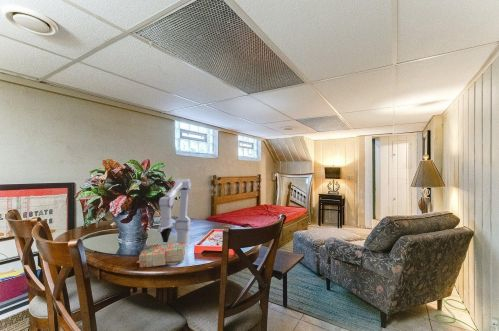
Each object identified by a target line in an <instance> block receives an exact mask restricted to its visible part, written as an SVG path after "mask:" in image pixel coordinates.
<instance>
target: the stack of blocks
mask: <svg viewBox="0 0 499 331" xmlns="http://www.w3.org/2000/svg"><path fill="white" fill-rule="evenodd" d="M185 256H186V246H185V243H177V242H176V243H165V244H151V245H150V244H149V245H145V246H144V247H143V248H142V250H141V251H140V254H139V255H138V258H139V259H138V261H139V263H138V264H139V268H151V267H158V266H165V265H167V264H166V262H170V261H180V260H181V261H184V260H185ZM181 261H180V262H181Z"/></svg>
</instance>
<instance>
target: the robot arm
mask: <svg viewBox="0 0 499 331" xmlns="http://www.w3.org/2000/svg"><path fill="white" fill-rule="evenodd" d="M173 184H174V185H173V187H172V188H171V189H169V190H167V192H166V193H165V195H164V196H162V197H159V200H158V207H159V210H160V221H159V222H160V225H158V228H157V233H159V234H160V235H161V237H162V242H163V243H168V242H169V238H170V235H171V233H172V230H173V227H174V230H175V232H176V243H185V247H187V246H188V245H189V244H191V243H192V241H191V232H190V230H191V228H192V222H191V221H192V220H191V218H190V217H189V216H188V208H189V207H188V205H189V204H188V203H189V193H190V192H191V189H192V180H191V179H190V178H175V180H174V183H173ZM178 192H180V203H179V216H178V217H177V218H175V221H174V223H173V222H172V207H173V205H174V202H175V199H176V198H177V196H178Z"/></svg>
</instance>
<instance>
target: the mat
mask: <svg viewBox="0 0 499 331" xmlns="http://www.w3.org/2000/svg"><path fill="white" fill-rule="evenodd" d="M181 261H182V260H180V261H170V262H166V264H165V265H172V266H174V265H175V266H176V265H178V263H180V262H181ZM135 263H136V264H140V263H139V260H137V261H136V262H135Z"/></svg>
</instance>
